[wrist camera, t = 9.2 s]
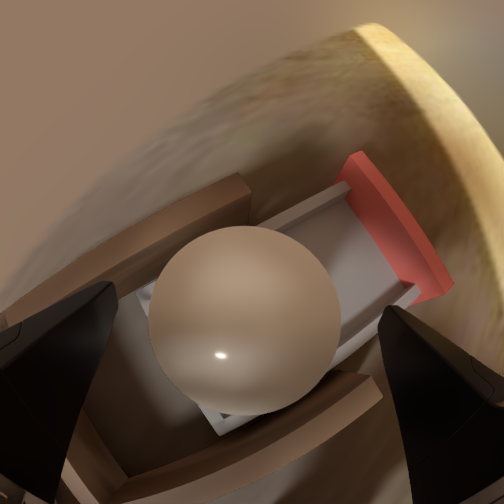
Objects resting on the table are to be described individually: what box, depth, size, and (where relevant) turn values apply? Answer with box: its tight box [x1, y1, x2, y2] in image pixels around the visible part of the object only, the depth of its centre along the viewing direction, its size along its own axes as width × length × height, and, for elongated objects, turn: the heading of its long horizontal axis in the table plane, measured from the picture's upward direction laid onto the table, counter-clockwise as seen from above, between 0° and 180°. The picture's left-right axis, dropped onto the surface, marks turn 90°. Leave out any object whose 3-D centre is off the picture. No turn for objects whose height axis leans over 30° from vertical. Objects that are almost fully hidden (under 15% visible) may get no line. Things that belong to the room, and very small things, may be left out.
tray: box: [135, 150, 454, 436], centre depth 16 cm, size 11×17×4 cm, turn 121°
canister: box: [148, 226, 341, 416], centre depth 12 cm, size 5×5×10 cm
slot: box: [0, 172, 383, 504], centre depth 14 cm, size 15×18×5 cm
